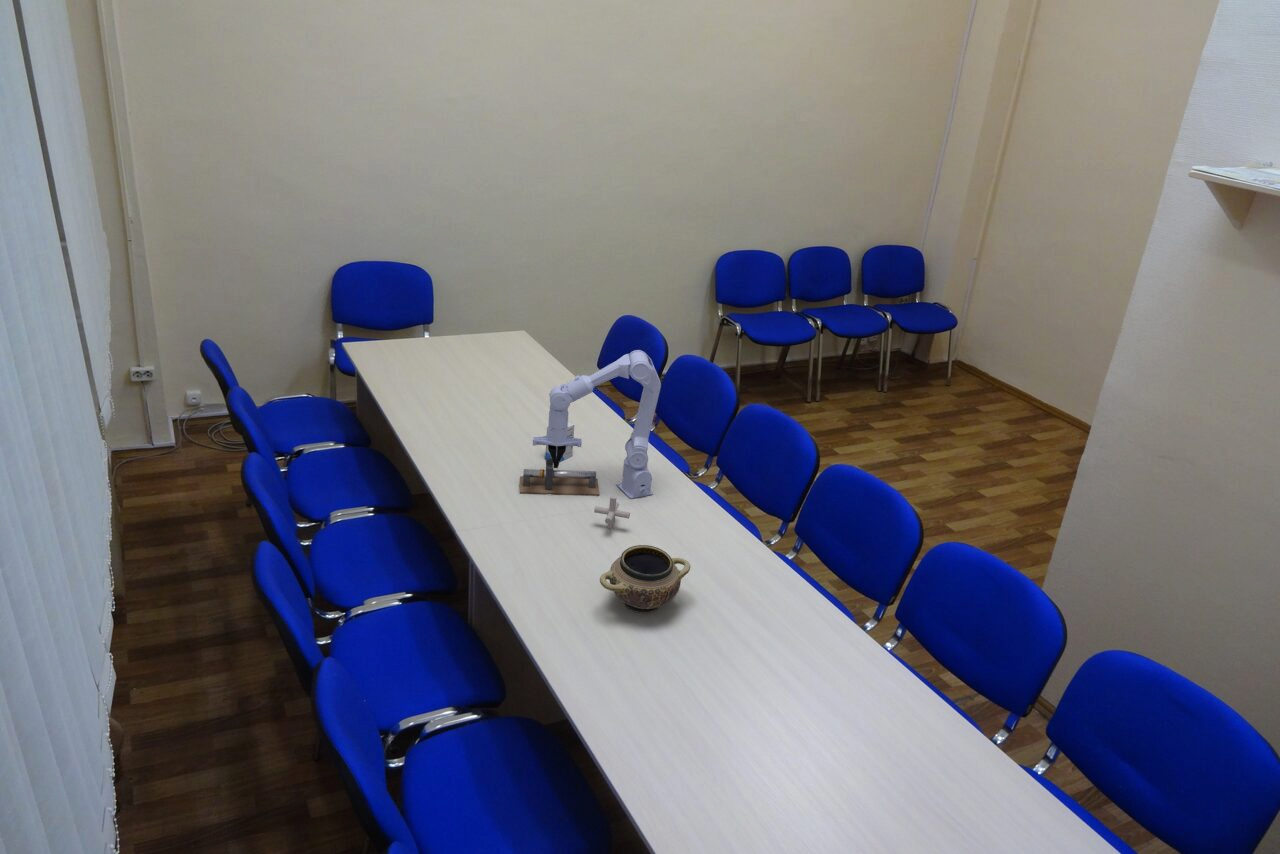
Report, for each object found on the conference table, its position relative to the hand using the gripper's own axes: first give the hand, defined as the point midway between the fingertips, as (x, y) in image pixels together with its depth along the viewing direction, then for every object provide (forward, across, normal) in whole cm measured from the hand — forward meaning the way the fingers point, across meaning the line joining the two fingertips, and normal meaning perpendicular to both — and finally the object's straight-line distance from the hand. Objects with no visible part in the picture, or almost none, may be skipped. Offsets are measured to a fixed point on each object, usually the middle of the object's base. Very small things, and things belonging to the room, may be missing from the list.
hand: (555, 466), depth 280 cm
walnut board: (+7, -1, 0) cm, 7 cm away
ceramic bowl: (+7, -21, +59) cm, 63 cm away
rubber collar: (+7, +2, 0) cm, 7 cm away
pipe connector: (+7, -16, +23) cm, 29 cm away
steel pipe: (+7, -1, 0) cm, 7 cm away
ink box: (+7, -2, -20) cm, 21 cm away
